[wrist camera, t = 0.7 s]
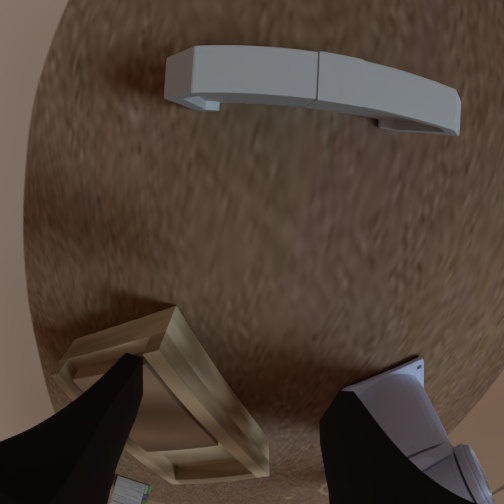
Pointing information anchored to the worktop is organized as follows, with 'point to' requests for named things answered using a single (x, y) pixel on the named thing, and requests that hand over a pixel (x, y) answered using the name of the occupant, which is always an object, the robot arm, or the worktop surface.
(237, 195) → the worktop surface
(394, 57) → the worktop surface
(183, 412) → the lid plate
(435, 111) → the arched grey pull
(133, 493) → the syrup box
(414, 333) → the worktop surface
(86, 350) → the oak box
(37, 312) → the worktop surface
